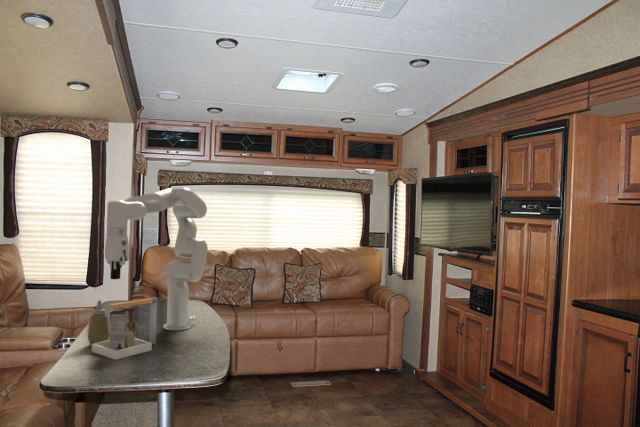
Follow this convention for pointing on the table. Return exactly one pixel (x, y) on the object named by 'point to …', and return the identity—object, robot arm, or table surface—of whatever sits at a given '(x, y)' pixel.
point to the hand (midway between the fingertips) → (115, 278)
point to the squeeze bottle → (98, 325)
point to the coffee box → (122, 328)
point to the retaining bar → (134, 303)
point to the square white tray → (139, 344)
